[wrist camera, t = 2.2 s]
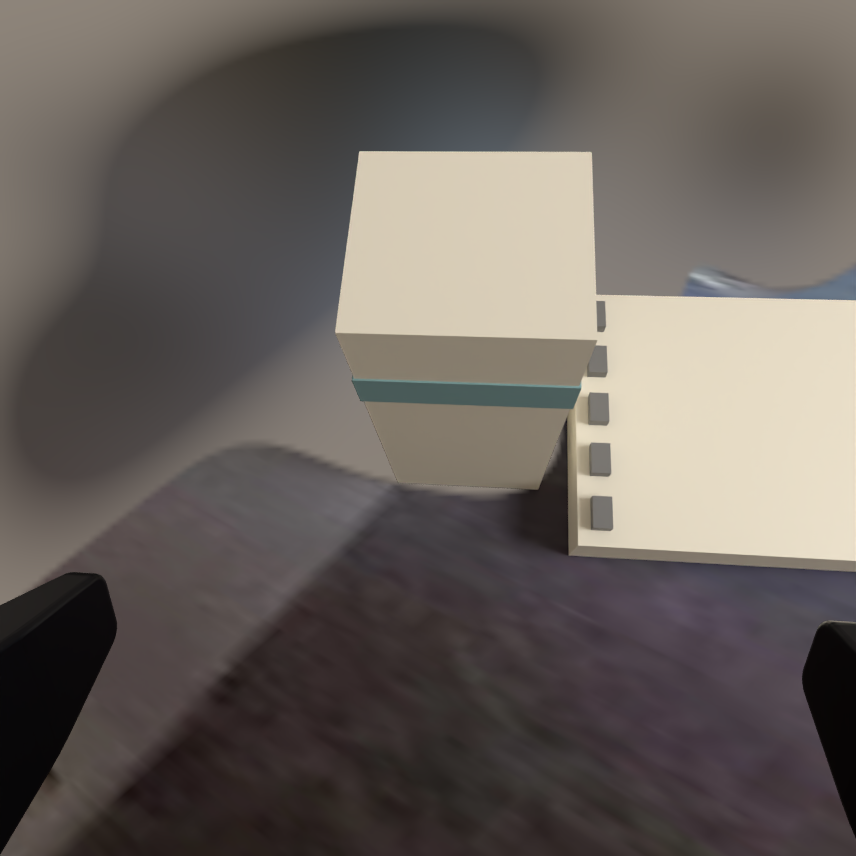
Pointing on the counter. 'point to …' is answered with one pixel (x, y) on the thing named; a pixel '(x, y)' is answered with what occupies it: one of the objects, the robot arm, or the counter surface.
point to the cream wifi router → (717, 433)
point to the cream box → (469, 309)
